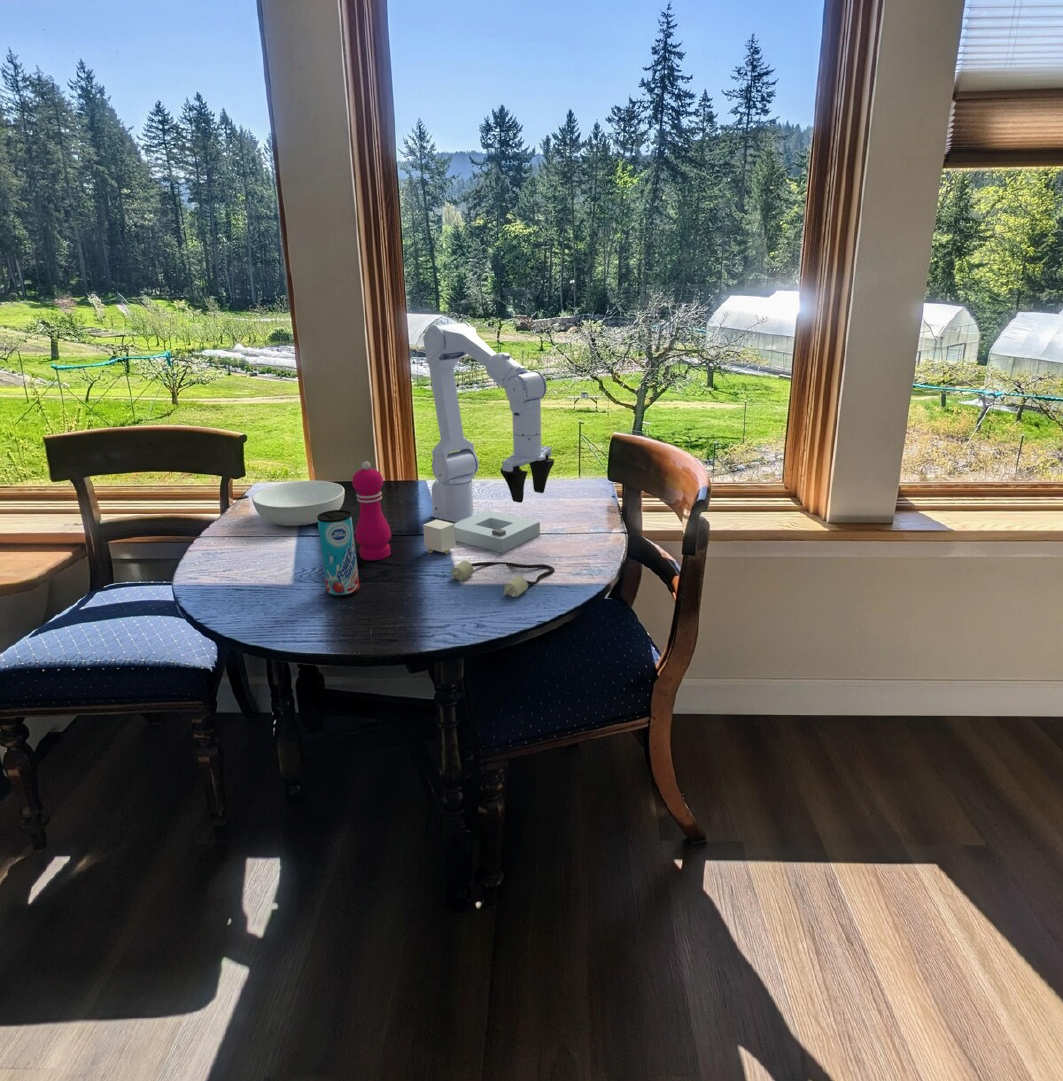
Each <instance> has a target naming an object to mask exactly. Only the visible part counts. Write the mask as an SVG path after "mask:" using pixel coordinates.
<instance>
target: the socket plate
mask: <svg viewBox="0 0 1063 1081" xmlns="http://www.w3.org/2000/svg"><path fill="white" fill-rule="evenodd" d="M453 524H454V529H455V542H460V543H464V544H467V545H471V546H475V547H479V548H483V549H486V550H490V551H491V550H492V551H495V552H498V553H502V554H504V553H506V552H509V550H512V549H513V548H515V547H517V546H521V544H524V543H526V542H527V541H530V540H532V539H534V538H536V537H538V536H540V535H541V529H540V528H541V526H540V525H541V524H540V521H539V520H535V519H529V518H524V517H520V516H515V515H511V514H506V513H501V512H498V511H492V510H489V509H486V510H483V511H482V512H481V513H479V514H476V515H474V516H471V517H469V518H467V519H464V520H462V521H459V522H457V523H456V522H453Z"/></svg>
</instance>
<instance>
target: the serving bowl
mask: <svg viewBox="0 0 1063 1081" xmlns="http://www.w3.org/2000/svg"><path fill="white" fill-rule="evenodd" d="M345 493H346V492H345V488H344V487H343V486H342V485H341V484H339V483H335V482H332V481H325V480H299V481H291V482H284V483H283V482H282V483H278V484H274V485H271V486H268V487H265V488H262V489H260V490H258V491H256V492H255V493H254V494H253V495H252V498H251V501H252V503H253V506H254V509H255V511H256V512H257V513H258V515H259V516H260V517H261V518H262V519H264V520H265V521H267V522H269V523H272V524H275V525H279V526H288V527H289V526H290V527H300V526H299V525H304V526H308V524H310V525H313V523H314V524H316V523H317V524H318V519H317V516H318V515H319V514H321V513H323V512H326V511H332V510H341V508H342V506H343V504H344V500H345Z"/></svg>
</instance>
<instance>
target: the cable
mask: <svg viewBox="0 0 1063 1081" xmlns="http://www.w3.org/2000/svg"><path fill="white" fill-rule="evenodd" d="M504 564H506V565H505V566H507V565H508V566H507V567H513V568H519V569H536V568H537V569H547V568H549V569H548V570H547V571H545V572H543V573H541V574H539V575H538V576H537V578H536V580H535V581H532V580H526V578H524V577H523V576H521V575H516V576H515V577H513V578H512V579H511V580H509V581H508V582H507V583H505V584H504V585H503V586H504V587H503V595H504V596H511V597H512V598H518V597H520V596H521V594H523V593H524V592H525V591H527V589H528V588H529V586H535V585H537V584H539V583H540V581H541V580H542V579H543V578H545V577H547V576H550V575H552V574H553V573H554V572H555V568H554V566H552V565H548V564H543V563H540V564H539V563H538V564H537V563H536V564H535V563H534V564H533V563H532V564H522V563H515V562H508V561H507V562H506V561H505V562H504V561H483V562H482V561H481V562H472V563H471V562H470V561H468V560H461V561H460V562H459V563H458V564H456V565H455V566H454V567H453V568H452V569H451V570H450V571H451V577H450V578H451V580H459V581H463V582H464V581H465V580H466V579H468V578H469V577H470V576H471V575H473V573H474V567H475V568H476V567H485V566H495V565H504ZM550 569H551V570H550ZM544 576H545V577H544ZM542 577H543V578H542ZM534 584H535V585H534Z"/></svg>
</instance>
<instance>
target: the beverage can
mask: <svg viewBox="0 0 1063 1081" xmlns="http://www.w3.org/2000/svg"><path fill="white" fill-rule="evenodd" d="M317 519H318V522H317V527H318V533H319V534H318V535H319V542H320V543H319V544H320V550H321V558H322V565H323V572H324V579H325V580H324V581H325V586H326V591H327V594H328V595H329V596H331V597H333V598H334V597H335V598H346V597H350V596H353V595H355V594H357V593H358V592H359V589H360V580H359V570H358V569H359V568H358V562H357V561H358V560H357V554H356V552H357V551H356V545H355V536H354V527H353V518H352V512H350V511H348V510H346V509H345V510H344V509H339V510H332V511H326V512H323V513H321V514H319V515H318V516H317Z"/></svg>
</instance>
